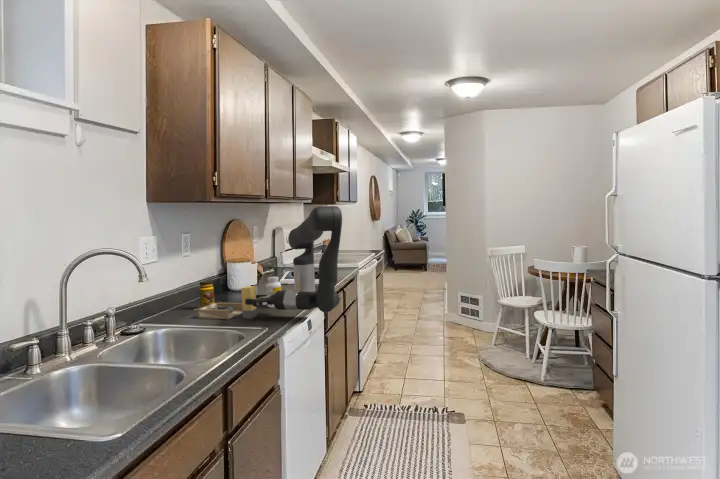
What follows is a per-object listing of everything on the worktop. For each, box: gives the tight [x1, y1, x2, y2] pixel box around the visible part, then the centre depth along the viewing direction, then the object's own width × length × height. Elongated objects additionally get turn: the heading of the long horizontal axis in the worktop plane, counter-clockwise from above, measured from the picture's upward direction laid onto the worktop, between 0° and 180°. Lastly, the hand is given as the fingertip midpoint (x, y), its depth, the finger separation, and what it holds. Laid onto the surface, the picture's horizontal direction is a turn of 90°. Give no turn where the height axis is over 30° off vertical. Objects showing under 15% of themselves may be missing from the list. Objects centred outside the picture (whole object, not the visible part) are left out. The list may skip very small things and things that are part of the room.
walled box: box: [196, 302, 243, 320], centre depth 199 cm, size 14×14×4 cm
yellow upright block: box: [240, 285, 258, 319], centre depth 193 cm, size 4×4×12 cm
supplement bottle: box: [265, 276, 282, 309], centre depth 212 cm, size 7×7×13 cm
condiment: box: [194, 280, 216, 311], centre depth 213 cm, size 7×8×12 cm
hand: (251, 299), depth 192 cm, fingers open, 8 cm apart
